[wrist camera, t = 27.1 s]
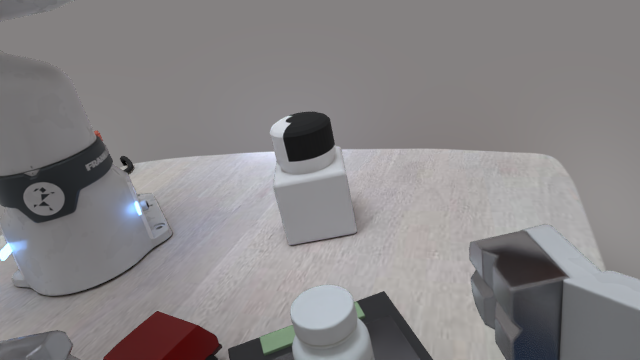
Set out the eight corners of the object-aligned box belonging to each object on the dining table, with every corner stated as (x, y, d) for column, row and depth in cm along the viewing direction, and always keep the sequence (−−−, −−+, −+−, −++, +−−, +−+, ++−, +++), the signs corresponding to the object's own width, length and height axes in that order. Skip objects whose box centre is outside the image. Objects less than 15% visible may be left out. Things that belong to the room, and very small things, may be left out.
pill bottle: (383, 373, 29) (364, 275, 26) (382, 439, 25) (359, 333, 22) (316, 374, 30) (289, 280, 26) (304, 438, 26) (272, 337, 23)
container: (351, 201, 57) (332, 101, 51) (357, 234, 50) (336, 122, 44) (290, 212, 57) (265, 114, 52) (288, 247, 50) (259, 137, 45)
